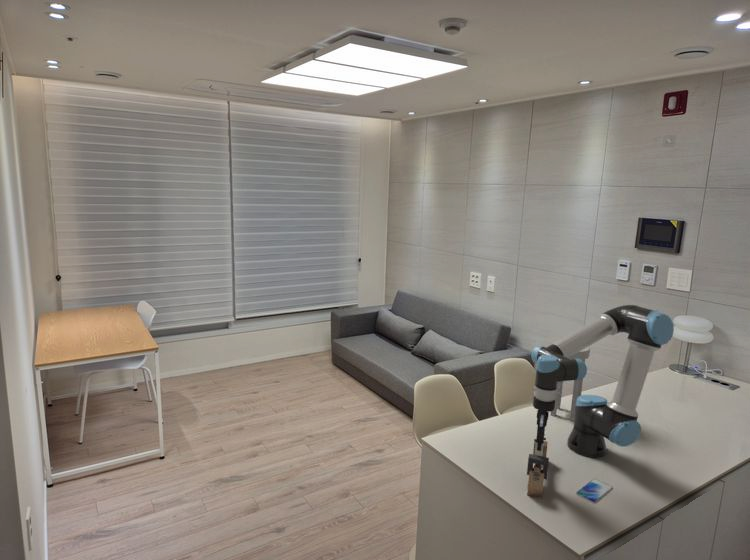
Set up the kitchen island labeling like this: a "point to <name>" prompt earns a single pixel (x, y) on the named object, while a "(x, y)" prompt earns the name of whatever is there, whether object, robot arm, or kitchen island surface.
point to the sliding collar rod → (537, 476)
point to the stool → (576, 388)
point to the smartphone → (594, 490)
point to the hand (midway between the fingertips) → (538, 456)
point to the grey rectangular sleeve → (540, 461)
